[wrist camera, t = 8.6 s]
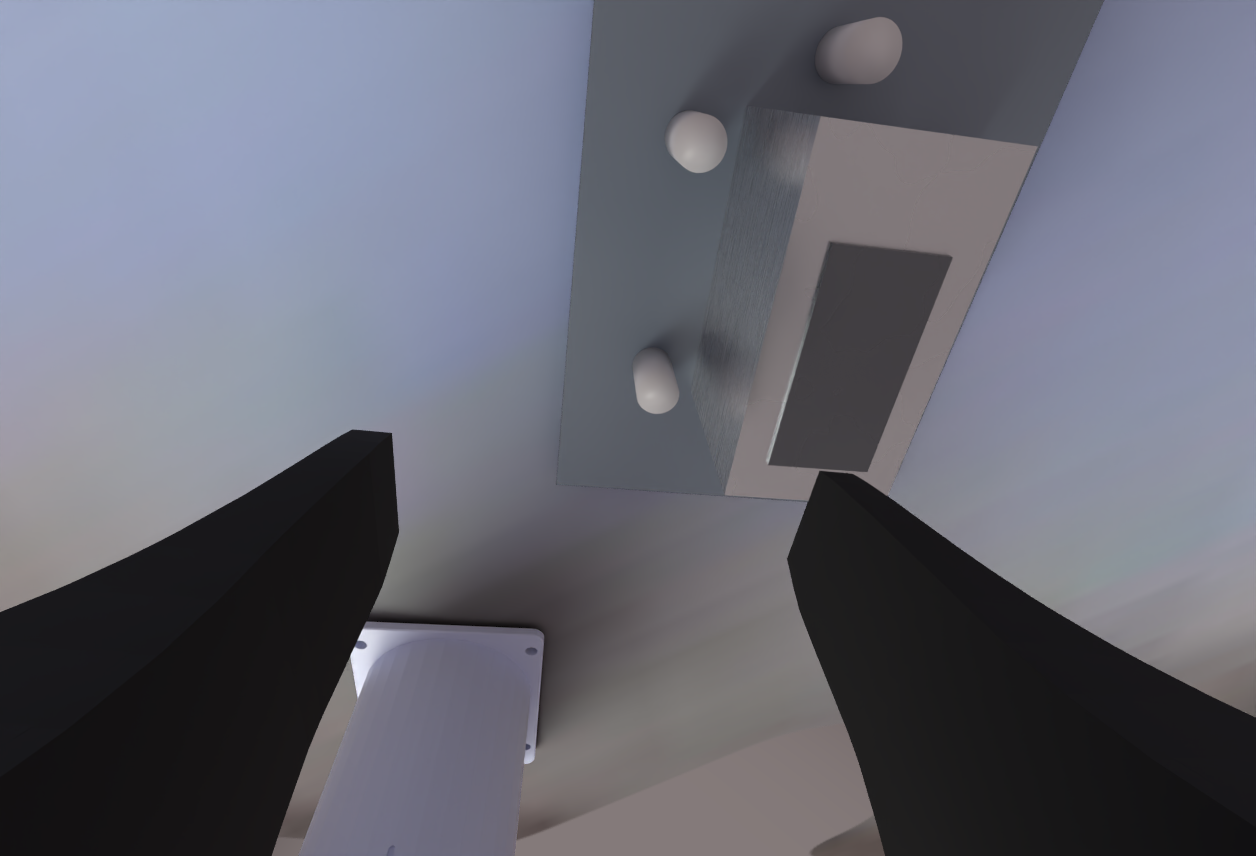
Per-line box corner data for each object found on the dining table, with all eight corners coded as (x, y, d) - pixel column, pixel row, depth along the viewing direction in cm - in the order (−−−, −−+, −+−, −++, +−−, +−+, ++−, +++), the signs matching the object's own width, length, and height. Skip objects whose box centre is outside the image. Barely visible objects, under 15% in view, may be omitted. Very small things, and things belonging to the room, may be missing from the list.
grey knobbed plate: (873, 494, 22) (907, 544, 20) (557, 471, 21) (552, 521, 18) (1094, -32, 14) (1198, -56, 12) (603, -124, 13) (606, -171, 10)
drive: (810, 400, 19) (885, 508, 14) (690, 390, 19) (725, 497, 14) (897, 126, 15) (1041, 147, 10) (746, 105, 15) (822, 116, 10)
